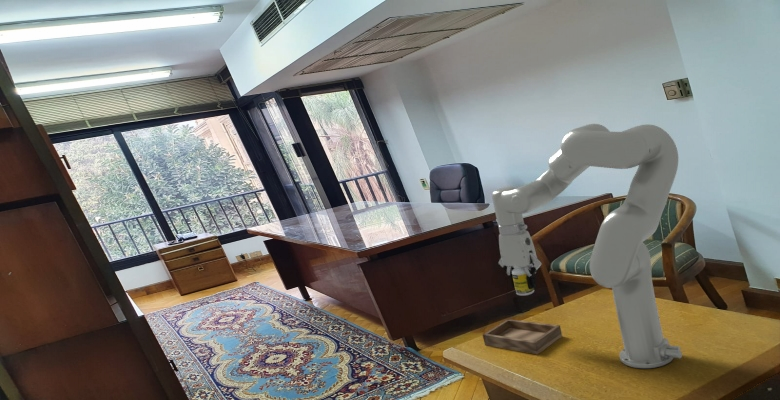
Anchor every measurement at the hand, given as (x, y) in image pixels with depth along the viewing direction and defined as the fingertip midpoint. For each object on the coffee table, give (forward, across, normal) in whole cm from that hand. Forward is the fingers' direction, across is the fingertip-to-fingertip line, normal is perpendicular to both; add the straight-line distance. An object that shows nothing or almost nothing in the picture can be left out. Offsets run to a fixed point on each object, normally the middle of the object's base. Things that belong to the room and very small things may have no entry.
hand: (524, 286), depth 159 cm
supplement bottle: (+2, 0, 0) cm, 2 cm away
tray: (+18, +5, 0) cm, 19 cm away
